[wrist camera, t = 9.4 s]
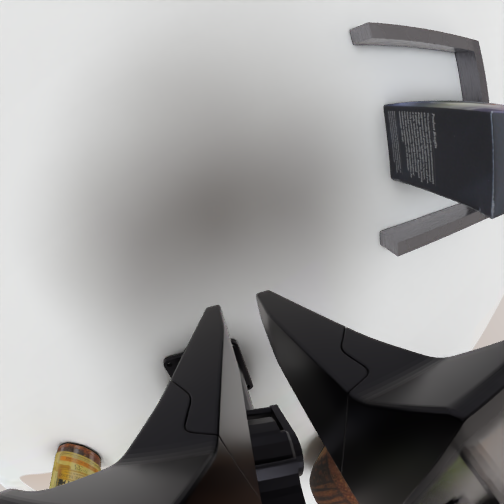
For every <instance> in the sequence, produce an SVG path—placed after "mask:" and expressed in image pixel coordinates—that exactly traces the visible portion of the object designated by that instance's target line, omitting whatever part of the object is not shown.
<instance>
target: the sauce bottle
mask: <svg viewBox="0 0 504 504" xmlns="http://www.w3.org/2000/svg"><path fill="white" fill-rule="evenodd" d="M100 467H101V460H100V458H99V456H98V455H97V454H95V453H94V452H93V451H91V450H89V449H88V448H86V447H83V446H79V445H75V444H72V443H65V444H63V445H60V446H59V448H58V451H57V454H56V456H55V461H54V466H53V471H52V477H51V482H50V488H54V487H57V486H60V485H63V484H66V483H69V482H72V481H75V480H77V479H80V478H83V477H86V476H88V475H91V474H93V473H96V472H98V471H101V468H100ZM50 488H49V489H50Z"/></svg>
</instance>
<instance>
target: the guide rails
mask: <svg viewBox="0 0 504 504" xmlns="http://www.w3.org/2000/svg"><path fill="white" fill-rule="evenodd" d="M350 34H351V38H352V41H353V45H390V46H405V47H417V48H426V49H434V50H441V51H448V52H454V53H455V55H456V60H457V65H458V70H459V75H460V81H461V88H462V95H463V101H471V102H483V103H489V97H488V90H487V83H486V77H485V71H484V65H483V60H482V55H481V50H480V46H479V42H478V41H477V40H473V39H469V38H465V37H461V36H457V35H453V34H448V33H444V32H439V31H434V30H428V29H422V28H416V27H409V26H401V25H393V24H383V23H370V22H368V23H365V24H363V25H360V26H358V27H356V28H353V29H351V30H350ZM486 218H489V217H487V216H485V215H483V214H482V213H480V212H478V211H476V210H474V209H471V208H470V207H468V206H465V205H463V204H457V205H454V206H451V207H449V208H446V209H443V210H440V211H437V212H435V213H432V214H429V215H426V216H423V217H420V218H417V219H415V220H412V221H409V222H406V223H403V224H400V225H397V226H394V227H392V228H389V229H386V230H383V231H380V244H381V245H382V246H384V247H385V248H387V249H388V250H389V251H391V252H392V253H394V254H395V255H396V256H400V255H403V254H405V253H407V252H410V251H412V250H415V249H417V248H420V247H422V246H425V245H427V244H429V243H432V242H434V241H436V240H439V239H441V238H444V237H446V236H448V235H451V234H453V233H455V232H457V231H460V230H462V229H464V228H466V227H469V226H471V225H473V224H475V223H478V222H480V221H482V220H484V219H486Z"/></svg>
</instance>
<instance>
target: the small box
mask: <svg viewBox="0 0 504 504" xmlns="http://www.w3.org/2000/svg"><path fill="white" fill-rule="evenodd" d="M384 113H385V120H386V128H387V137H388V146H389V155H390V167H391V177H392V179H393V180H395V181H399V182H403V183H406V184H409V185H413V186H415V187H419V188H421V189H424V190H427V191H430V192H432V193H435V194H438V195H440V196H443V197H445V198H448V199H451V200H453V201H457V202H458V203H460V204H463V205H465V206H468V207H470V208H471V209H474V210H476V211H478V212H480V213H482V214H483V215H485V216H487V217H489V218H491V219H493V218H496V217H498V216H500V215H502V214H504V105H500V104H493V103H483V102H471V101H418V102H405V103H396V104H388V105H384Z"/></svg>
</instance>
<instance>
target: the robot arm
mask: <svg viewBox="0 0 504 504" xmlns="http://www.w3.org/2000/svg"><path fill="white" fill-rule="evenodd" d="M256 299H257V303H258V307H259V312H260V316H261V319H262V322H263V325H264V328H265V331H266V333H267V336H268V339H269V341H270V344H271V347H272V349H273V352H274V355H275V357H276V359H277V362H278V364H279V366H280V367H281V369H282V371H283V373H284V375H285V377H286V378H287V380H288V382H289V384H290V386H291V387H292V389H293V391H294V393H295V395H296V396H297V398H298V400H299V402H300V403H301V405H302V407H303V409H304V410H305V412H306V414H307V416H308V418H309V419H310V421H311V423H312V425H313V426H314V428H315V430H316V431H317V433H318V435H319V437H320V438H321V440H322V442H323V444H324V445H325V447H326V449H327V450H328V452H329V454H330V456H331V457H332V459H333V461H334V462H335V464H336V466H337V467H338V469H339V471H340V472H341V473H342V476H343V478H344V479H345V481H346V483H347V484H348V486H349V488H350V489H351V491H352V493H353V494H354V496H355V497H356V499H357V501H358V502H359V504H504V341H501V342H498V343H495V344H492V345H489V346H486V347H483V348H479V349H476V350H473V351H469V352H466V353H462V354H459V355H455V356H451V357H445V358H435V357H429V356H425V355H422V354H419V353H415V352H412V351H409V350H406V349H403V348H399V347H396V346H393V345H390V344H387V343H384V342H381V341H378V340H376V339H373V338H370V337H368V336H365V335H363V334H361V333H358V332H356V331H354V330H352V329H350V328H346V327H345V326H343V325H341V324H339V323H336V322H334V321H332V320H330V319H328V318H326V317H324V316H322V315H319V314H317V313H315V312H313V311H311V310H309V309H307V308H305V307H303V306H301V305H298V304H296V303H294V302H292V301H290V300H288V299H286V298H284V297H282V296H280V295H278V294H276V293H274V292H272V291H269V290H267V291H264V292H260V293H258V294H256ZM232 345H233V346H232ZM168 363H171V364H168ZM164 367H165V369H166V370H167V372H168V373H169V375H170V377H171V381H170V382H169V384H168V386H167V388H166V390H165V392H164V393H163V395H162V397H161V399H160V401H159V403H158V405H157V406H156V408H155V409H154V411H153V413H152V414H151V416H150V417H149V419H148V420H147V422H146V423H145V425H144V426H143V428H142V429H141V431H140V432H139V434H138V435H137V437H136V438H135V440H134V441H133V443H132V444H131V446H130V447H129V449H128V450H127V452H126V453H125V454H124V456H123V457H122V458H121V459H120V460H119V461H118V462H116V463H115V464H113V465H112V466H110V467H108V468H106V469H103V470H101V471H98V472H96V473H93V474H91V475H88V476H86V477H83V478H80V479H77V480H75V481H72V482H69V483H66V484H63V485H60V486H57V487H54V488H50V489H47V490H41V491H23V490H17V489H7V490H5V491H2V492H0V504H306V503H305V499H304V496H303V492H302V488H301V484H300V478H299V476H301V475H302V474H303V470H304V460H303V454H302V449H301V446H300V443H299V440H298V438H297V436H296V434H295V432H294V431H293V429H292V428H291V426H290V425H289V423H288V421H287V420H286V418H285V417H284V415H283V414H282V412H281V410H280V409H279V407H278V406H277V405H271V406H270V407H266V408H259V409H253V405H252V402H251V399H250V396H249V392H248V390H249V389H251V388H252V387H253V384H252V381H251V379H250V376H249V373H248V371H247V368H246V365H245V363H244V360H243V357H242V355H241V352H240V349H239V346H238V344H237V342H236V341H235V340H230V336H229V333H228V329H227V326H226V323H225V320H224V317H223V313H222V310H221V307H220V306H219V305H215V306H212V307H208V308H206V310H205V312H204V314H203V316H202V318H201V320H200V322H199V324H198V326H197V328H196V330H195V332H194V334H193V336H192V338H191V340H190V342H189V344H188V346H187V348H186V350H185V352H184V353H182V354H179V355H175V356H171V357H167V358H165V359H164Z"/></svg>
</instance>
